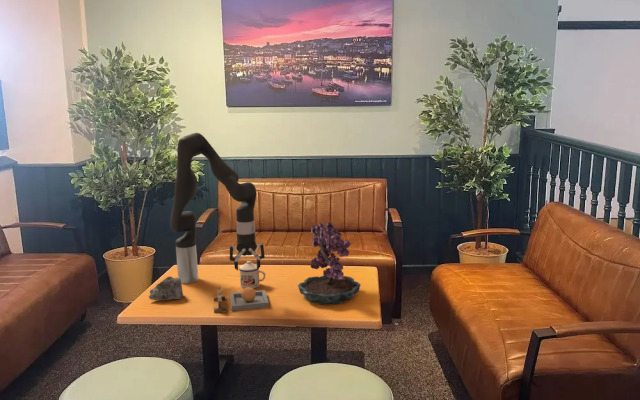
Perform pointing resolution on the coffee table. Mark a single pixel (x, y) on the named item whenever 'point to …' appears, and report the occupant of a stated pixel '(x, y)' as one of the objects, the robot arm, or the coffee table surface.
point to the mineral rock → (167, 290)
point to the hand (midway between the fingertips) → (247, 269)
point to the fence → (220, 302)
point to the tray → (241, 304)
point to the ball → (248, 294)
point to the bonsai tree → (329, 269)
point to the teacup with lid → (250, 275)
